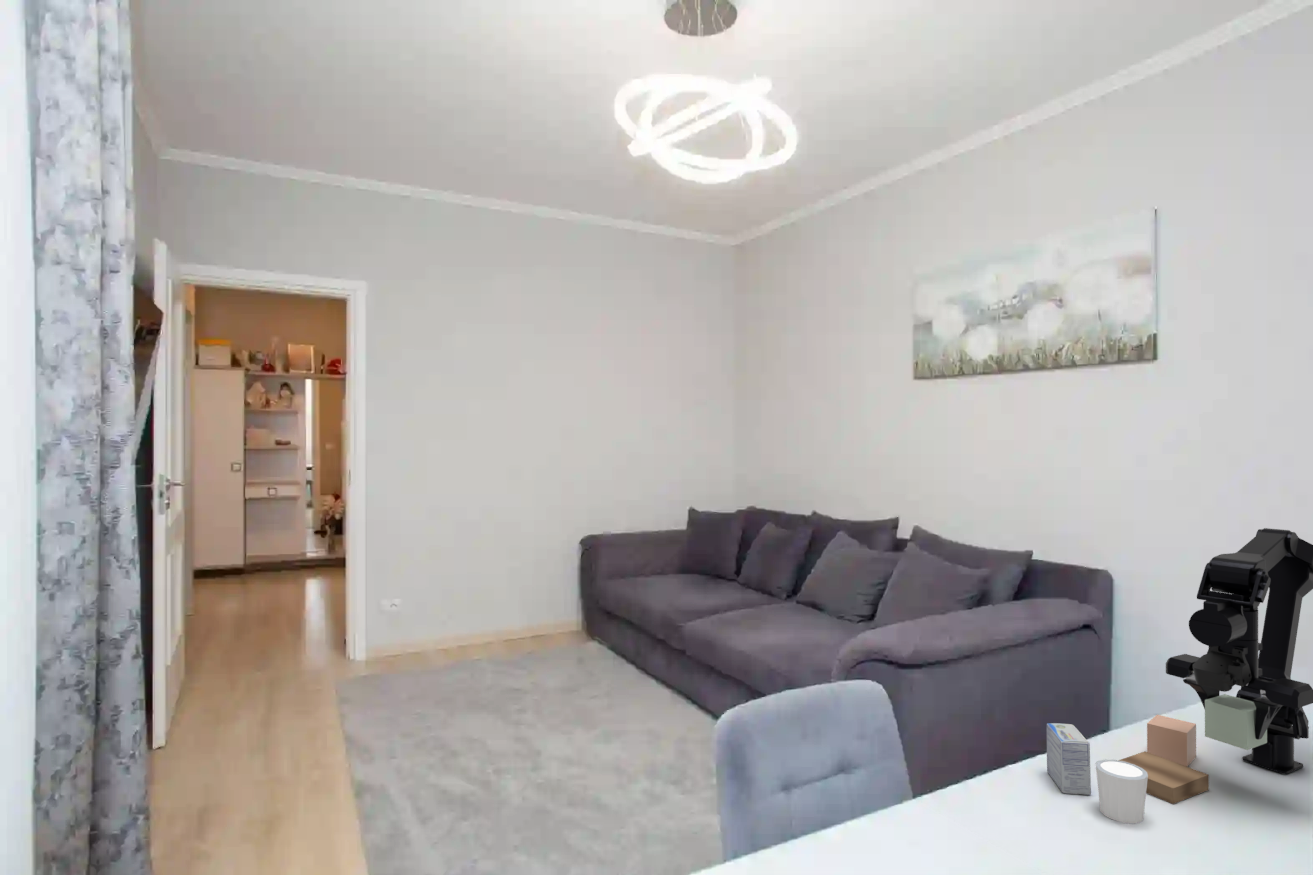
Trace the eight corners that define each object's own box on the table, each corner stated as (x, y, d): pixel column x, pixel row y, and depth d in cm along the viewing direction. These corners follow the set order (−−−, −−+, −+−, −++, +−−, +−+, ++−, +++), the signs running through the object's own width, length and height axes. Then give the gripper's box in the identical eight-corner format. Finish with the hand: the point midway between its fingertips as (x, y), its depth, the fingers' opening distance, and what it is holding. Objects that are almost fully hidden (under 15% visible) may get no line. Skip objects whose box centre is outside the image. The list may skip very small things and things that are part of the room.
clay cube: (1157, 746, 138) (1157, 714, 138) (1196, 757, 134) (1196, 723, 134) (1147, 756, 134) (1147, 723, 134) (1187, 767, 130) (1187, 733, 130)
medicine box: (1091, 796, 120) (1091, 742, 120) (1061, 793, 121) (1061, 740, 120) (1074, 774, 127) (1074, 723, 127) (1046, 772, 128) (1045, 721, 128)
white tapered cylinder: (1130, 830, 110) (1130, 782, 109) (1085, 809, 116) (1085, 764, 116) (1158, 818, 113) (1157, 772, 113) (1112, 798, 119) (1112, 755, 119)
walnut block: (1145, 765, 130) (1145, 751, 130) (1208, 789, 121) (1208, 774, 121) (1109, 777, 126) (1109, 763, 126) (1173, 804, 117) (1173, 788, 117)
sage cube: (1224, 729, 125) (1224, 693, 125) (1267, 742, 120) (1267, 705, 120) (1204, 736, 123) (1204, 699, 123) (1247, 750, 117) (1247, 712, 117)
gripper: (1146, 628, 126) (1146, 720, 126) (1279, 658, 109) (1278, 764, 109) (1184, 620, 131) (1184, 709, 131) (1316, 648, 114) (1316, 749, 114)
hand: (1235, 731), depth 121 cm, fingers closed on sage cube, 6 cm apart
